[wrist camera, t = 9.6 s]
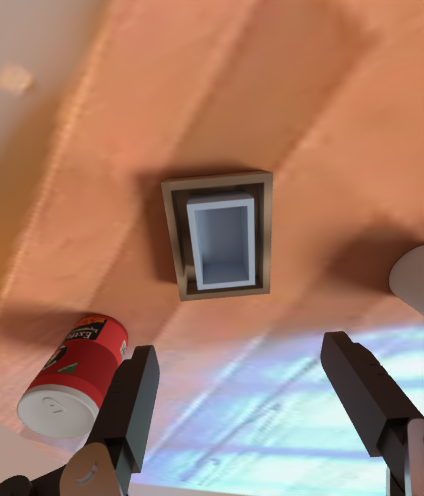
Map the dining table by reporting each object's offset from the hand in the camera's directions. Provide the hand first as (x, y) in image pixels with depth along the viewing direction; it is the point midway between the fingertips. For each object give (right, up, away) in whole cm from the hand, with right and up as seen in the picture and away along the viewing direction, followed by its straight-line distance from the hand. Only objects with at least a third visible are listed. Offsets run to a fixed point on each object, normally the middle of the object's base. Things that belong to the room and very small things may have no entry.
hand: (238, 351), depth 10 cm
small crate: (0, +7, +15) cm, 17 cm away
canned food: (-17, -8, +22) cm, 29 cm away
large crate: (0, +7, +16) cm, 18 cm away
